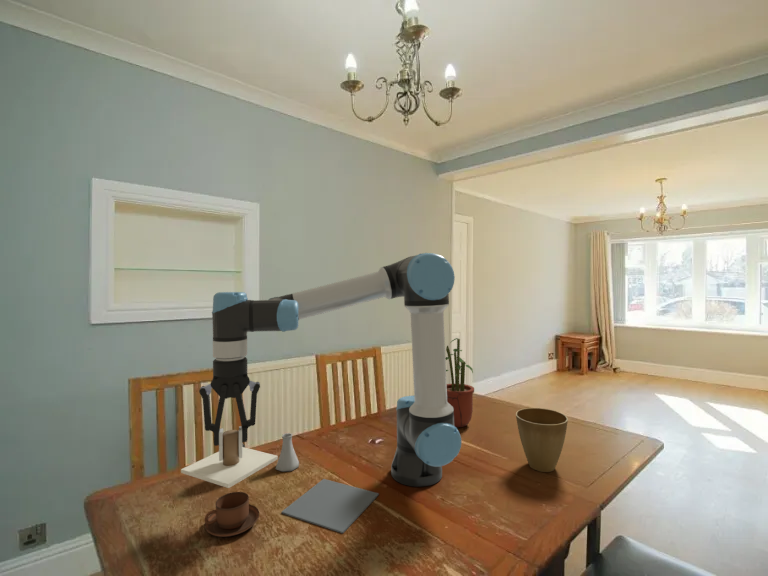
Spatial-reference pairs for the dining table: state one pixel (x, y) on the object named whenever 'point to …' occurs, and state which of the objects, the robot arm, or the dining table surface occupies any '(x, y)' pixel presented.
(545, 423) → the plant pot
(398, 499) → the dining table surface
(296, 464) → the flask
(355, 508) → the mat
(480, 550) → the dining table surface
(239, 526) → the cup and saucer
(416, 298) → the robot arm
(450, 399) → the potted plant
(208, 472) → the board
